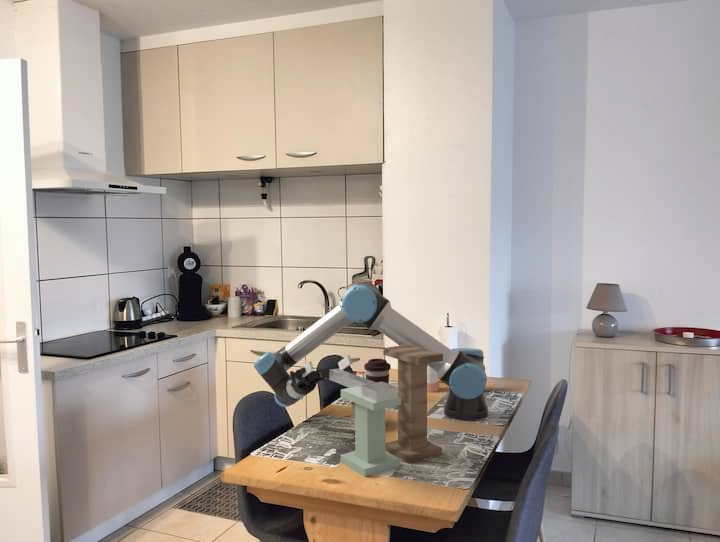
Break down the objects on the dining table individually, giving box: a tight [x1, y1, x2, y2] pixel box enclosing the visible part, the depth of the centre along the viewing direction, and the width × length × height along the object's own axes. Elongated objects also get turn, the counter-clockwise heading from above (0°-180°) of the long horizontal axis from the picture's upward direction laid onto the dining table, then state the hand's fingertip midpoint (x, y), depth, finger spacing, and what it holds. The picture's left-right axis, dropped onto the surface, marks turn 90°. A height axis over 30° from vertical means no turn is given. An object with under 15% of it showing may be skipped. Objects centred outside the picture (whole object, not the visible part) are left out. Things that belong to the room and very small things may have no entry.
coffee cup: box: [363, 358, 391, 384], centre depth 229 cm, size 10×10×15 cm
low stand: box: [340, 387, 402, 477], centre depth 168 cm, size 16×12×20 cm
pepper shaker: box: [427, 365, 440, 393], centre depth 242 cm, size 7×7×19 cm
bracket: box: [328, 368, 398, 403], centre depth 171 cm, size 27×7×3 cm, turn 34°
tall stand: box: [382, 345, 443, 465], centre depth 176 cm, size 16×12×30 cm
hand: (331, 362), depth 183 cm, fingers open, 13 cm apart
